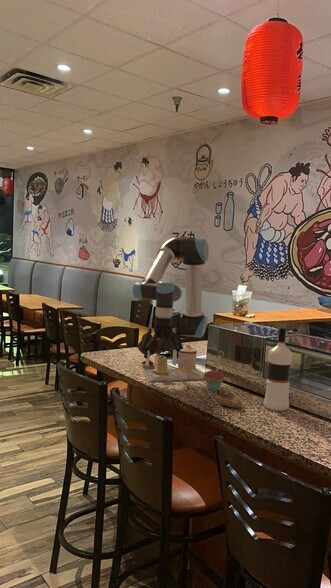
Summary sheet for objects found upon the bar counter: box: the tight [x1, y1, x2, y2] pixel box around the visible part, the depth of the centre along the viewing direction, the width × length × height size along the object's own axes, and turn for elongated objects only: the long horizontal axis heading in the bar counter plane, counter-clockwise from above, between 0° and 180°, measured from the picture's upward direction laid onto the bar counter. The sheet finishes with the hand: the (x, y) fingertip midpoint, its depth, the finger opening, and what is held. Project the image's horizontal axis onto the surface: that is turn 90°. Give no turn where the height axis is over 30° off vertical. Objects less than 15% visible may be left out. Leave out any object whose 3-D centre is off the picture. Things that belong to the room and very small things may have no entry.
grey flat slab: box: [142, 367, 205, 382], centre depth 208 cm, size 12×25×2 cm, turn 110°
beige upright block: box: [153, 355, 169, 375], centre depth 206 cm, size 4×4×9 cm
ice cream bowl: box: [137, 332, 160, 366], centre depth 230 cm, size 11×11×15 cm
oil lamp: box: [216, 387, 243, 409], centre depth 173 cm, size 13×8×5 cm, turn 29°
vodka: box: [263, 327, 293, 412], centre depth 172 cm, size 9×9×30 cm
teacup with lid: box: [176, 343, 198, 369], centre depth 225 cm, size 12×9×12 cm
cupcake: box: [203, 359, 225, 390], centre depth 194 cm, size 9×8×12 cm
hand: (160, 365), depth 206 cm, fingers open, 12 cm apart
